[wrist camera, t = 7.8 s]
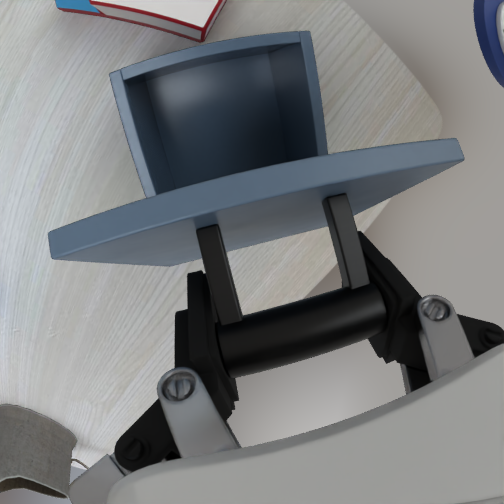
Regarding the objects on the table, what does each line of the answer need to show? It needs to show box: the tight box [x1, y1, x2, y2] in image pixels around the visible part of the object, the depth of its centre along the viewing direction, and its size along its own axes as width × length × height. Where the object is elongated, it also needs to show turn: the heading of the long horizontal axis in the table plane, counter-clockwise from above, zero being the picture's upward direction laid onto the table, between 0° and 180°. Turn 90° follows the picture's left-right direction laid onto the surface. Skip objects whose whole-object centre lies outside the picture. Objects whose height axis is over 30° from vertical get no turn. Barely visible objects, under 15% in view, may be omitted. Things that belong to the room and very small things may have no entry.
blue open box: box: [109, 31, 328, 198], centre depth 22 cm, size 14×13×10 cm
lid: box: [48, 138, 464, 378], centre depth 14 cm, size 14×13×5 cm
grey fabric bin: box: [0, 404, 89, 499], centre depth 42 cm, size 23×32×25 cm
